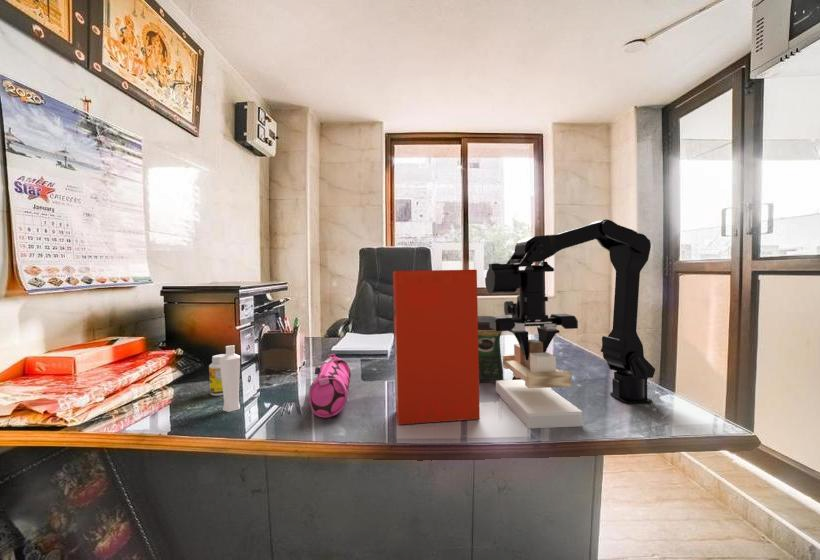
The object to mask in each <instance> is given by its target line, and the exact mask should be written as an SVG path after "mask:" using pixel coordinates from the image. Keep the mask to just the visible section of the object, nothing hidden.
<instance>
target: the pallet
mask: <svg viewBox="0 0 820 560" xmlns="http://www.w3.org/2000/svg"><path fill="white" fill-rule="evenodd" d="M528 348H529V355H528V360H525V359H524V364H519V363H518V362H516V361H515V360H514V354H503V355H502V367H503V368H504V369H505V370H510V371H511V372H512V377H513V376H515V377H516V378H521V379H523V380H524V381H525V386H527V387H528V388H566V387H567V388H570V387H572V372H571V371H570V370H560V369H558V368H556V371H553V372H531V371H530V353H543V342H540V341H539V339H528Z"/></svg>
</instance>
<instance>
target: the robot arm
mask: <svg viewBox="0 0 820 560" xmlns="http://www.w3.org/2000/svg"><path fill="white" fill-rule="evenodd" d="M594 240H596V241H597V242H598V244H599V245H600V246H601V248H603V249H605V250H606V251H608V252H609V260H610V263H611V264H612V266H613V268H614V270H615V280H614V281H615V285H614V296H613V298H614V299H613V314H612V315H613V316H612V317H613V318H612V329H611V331H610V333H609V334H608V335H602V337H601V344H602V345H601V349H600V352H601V353H602V358H603V360H605V362H606V363H607V365H608V369H609V370H610V371H613V378H612V383H611V384H612V392H610V394H609V395H610V396H612V397H614V398H616V399H618V400H619V401H621V402H622V403H625V404H646V403H648V404H649V403H653V399H650V398H648V380H649V379H652V378H654V374H655V372H656V368H655V367H654V366H653V365H652V364H651V363H650V362H649V361H648V360H647V359H646V358H645V355H644V346H643V343H642V340H641V339H640V337H639V335H638V333H637V329H638V328H637V326H638V313H639V312H638V311H639V310H638V309H639V294H640V277H641V271H642V269H644V267H645V265H646V264H647V263H648V261H649V257H650V252H651V248H652V246H651V245H652V244H651V241H650V238H648V237H647V235H644V234H643V233H639V232H637V231H636V230H634V229H631V228H628V227H626V226H623V225H620V224H618V223H616V222H614V221H613V220H610V219H602V220H597V221H596V220H595V221H593V222H591V223H590V224H586V225H583V226H579V227H577V228H573V229H569V230H566V231H563V232H560V233H556V234H546V235H545V234H544V235H536V236H531V237H526V238H522V239H520V240H518V241H517V242H516V244H515V246H514V252H513V253H512V254H511V256H510V257H509V259H508V261H507V262H506V263H498V262H497V263H496V262H493V263H490V262H489V264H488V269H487V271H486V274H485V278H484V282H485V287H486V288H485V289H486V291H487V292H488V294H508V293H510V294H511V293H515V292H516V291H517V290H518V295H517V298H516V303H515V302H514V301H512V300H509V301H505V302H504V303H503V305H504V306H503V309H504V310H503V311H504V315H491V316H492V317H491V318H490V328H492V329H494V330H495V331H502V332H510V333H512V334H513V335H514V337H515V338H516V341H517V342H518V343H517V344H519V345H520V348H521V351H522V353H523V356H524V359H525V360H528V355H529V348H528V340H529V331H527V330H526V327H536V329H537V334H538V341H540V342H543V353H544V352H547V350H548V347H549V346H550V344H551V342H552V340H553V339H554V337H555V335H556V334H559V333H560V330H559V329H558V328H557V327H558V326H561V327H562V328H563V329H565V330H569V329H572V330H573V329H575V330H576V329H579V321H578V319H577V317H576V316H575V315H572V314H567V313H551V314H550V316H549V315H548V314H546V312H547V311H546V305H547V304H546V302H549V297H548V296H546V272H549V273H551V272H555V268H554V267H552V266H551V265H550V264H549V263H548V262H547V261H545V260H547V259H549V258H551V257H552V256H554V255H555V254H557V253H558V252H560V251H562V250H565V249H568V248H571V247H574V246H577V245H581V244H584V243H588V242H591V241H594ZM534 263H539V264H534ZM522 267H523V268H524V269H520V268H522Z"/></svg>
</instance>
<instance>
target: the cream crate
mask: <svg viewBox="0 0 820 560" xmlns="http://www.w3.org/2000/svg"><path fill="white" fill-rule="evenodd" d="M556 358H557V356H555V355H554V354H551V353H550V352H547V351H546V352H544V353H530V371H531V372H553V371H556V369H557V359H556Z"/></svg>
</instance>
